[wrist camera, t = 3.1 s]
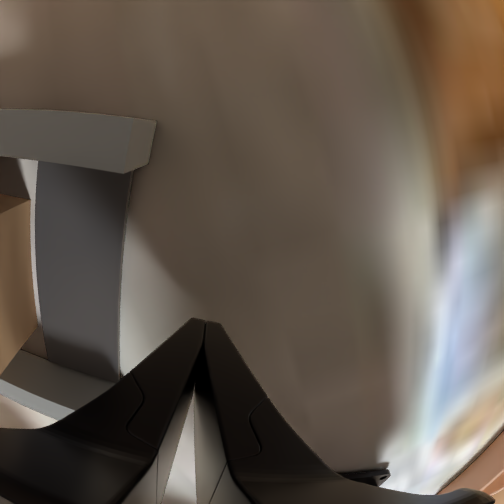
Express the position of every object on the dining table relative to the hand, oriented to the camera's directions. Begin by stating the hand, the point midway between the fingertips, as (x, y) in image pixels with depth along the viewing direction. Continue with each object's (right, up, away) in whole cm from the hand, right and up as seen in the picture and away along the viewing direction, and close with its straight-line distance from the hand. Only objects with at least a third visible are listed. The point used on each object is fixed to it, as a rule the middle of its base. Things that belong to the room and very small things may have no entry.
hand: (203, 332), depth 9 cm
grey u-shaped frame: (-9, +2, 0) cm, 9 cm away
